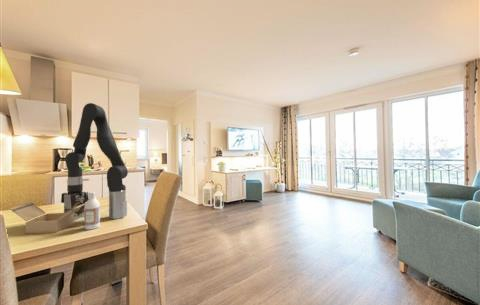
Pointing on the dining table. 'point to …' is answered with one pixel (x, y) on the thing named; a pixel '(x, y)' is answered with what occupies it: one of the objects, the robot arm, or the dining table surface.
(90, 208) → the bath foam
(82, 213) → the coffee box
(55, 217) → the carton
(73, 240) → the dining table surface
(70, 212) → the flap
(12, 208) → the flap
